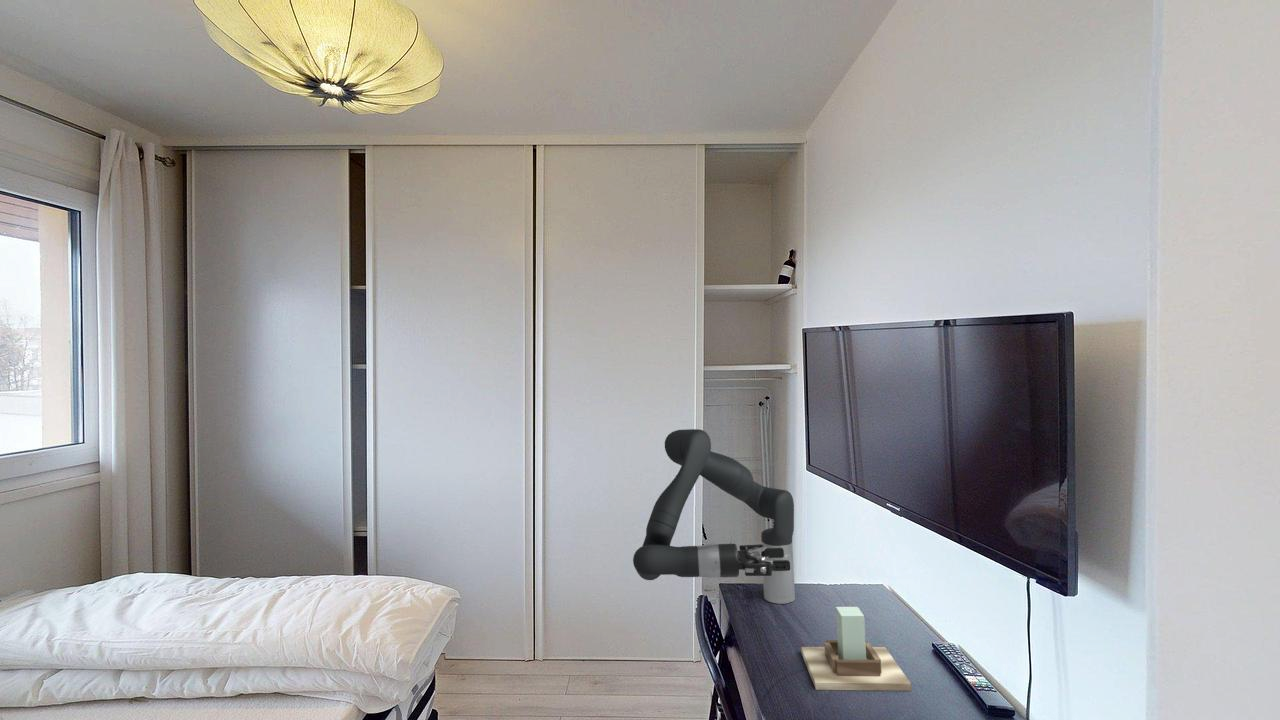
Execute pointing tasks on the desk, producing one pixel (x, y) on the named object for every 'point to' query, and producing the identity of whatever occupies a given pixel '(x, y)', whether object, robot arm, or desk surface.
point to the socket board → (854, 669)
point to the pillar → (850, 633)
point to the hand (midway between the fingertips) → (786, 558)
